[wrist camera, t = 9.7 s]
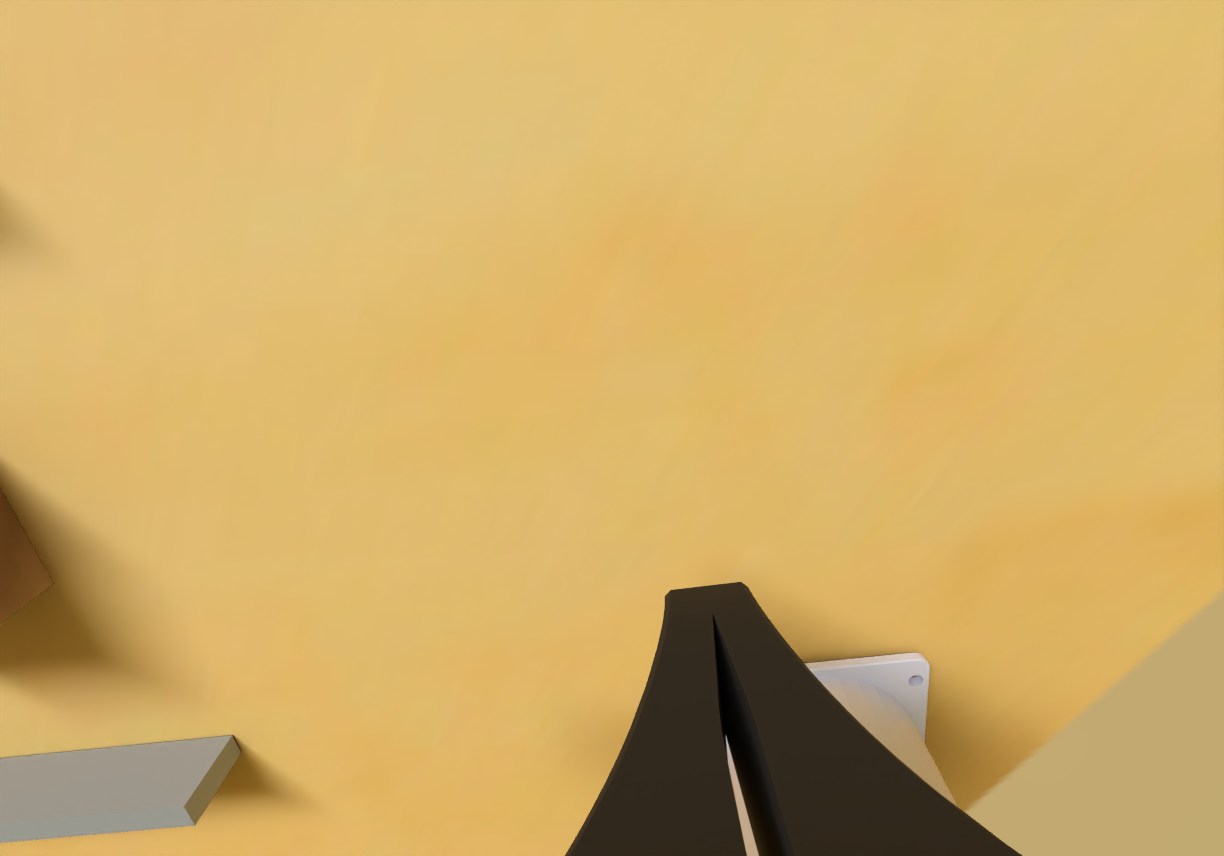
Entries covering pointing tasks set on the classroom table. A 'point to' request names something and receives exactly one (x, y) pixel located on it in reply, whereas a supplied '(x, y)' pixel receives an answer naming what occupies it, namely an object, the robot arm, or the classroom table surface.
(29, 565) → the walnut block
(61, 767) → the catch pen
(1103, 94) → the classroom table surface
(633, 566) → the classroom table surface
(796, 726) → the robot arm
